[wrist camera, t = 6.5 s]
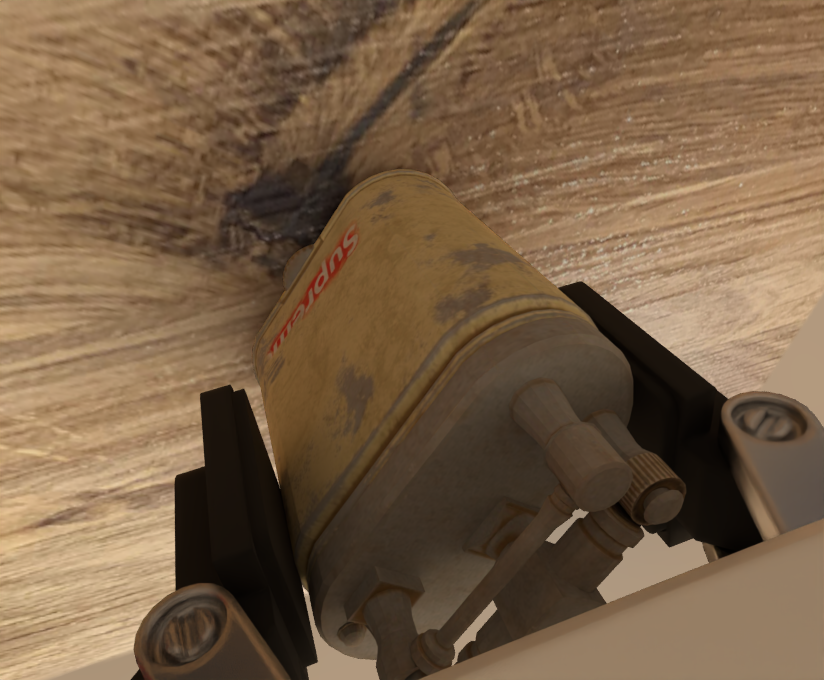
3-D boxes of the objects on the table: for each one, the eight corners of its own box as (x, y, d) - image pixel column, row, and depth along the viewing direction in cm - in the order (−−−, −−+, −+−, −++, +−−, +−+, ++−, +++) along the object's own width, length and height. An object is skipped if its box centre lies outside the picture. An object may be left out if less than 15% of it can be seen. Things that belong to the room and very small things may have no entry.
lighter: (338, 420, 19) (466, 791, 10) (215, 372, 17) (253, 780, 8) (486, 211, 17) (786, 460, 9) (367, 130, 15) (604, 350, 7)
